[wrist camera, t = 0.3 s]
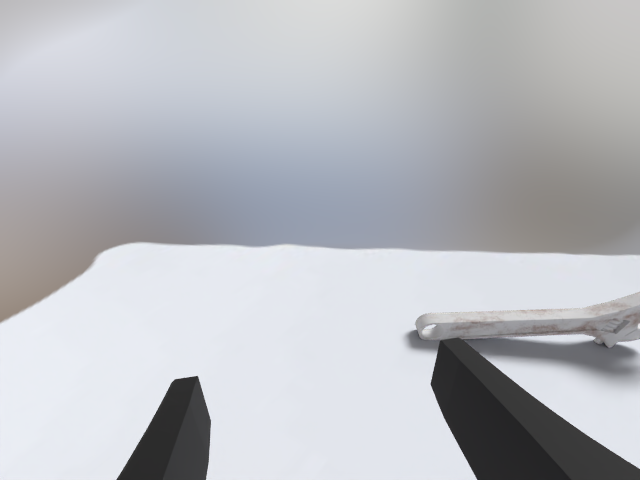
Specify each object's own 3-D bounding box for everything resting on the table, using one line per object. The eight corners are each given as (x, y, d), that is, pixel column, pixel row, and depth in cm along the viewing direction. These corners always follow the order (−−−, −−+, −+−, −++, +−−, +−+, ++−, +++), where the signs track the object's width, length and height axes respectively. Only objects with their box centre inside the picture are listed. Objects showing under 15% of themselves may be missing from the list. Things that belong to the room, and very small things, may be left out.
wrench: (410, 345, 42) (645, 336, 43) (414, 357, 41) (658, 348, 41) (419, 296, 38) (680, 287, 38) (424, 308, 36) (696, 298, 37)
